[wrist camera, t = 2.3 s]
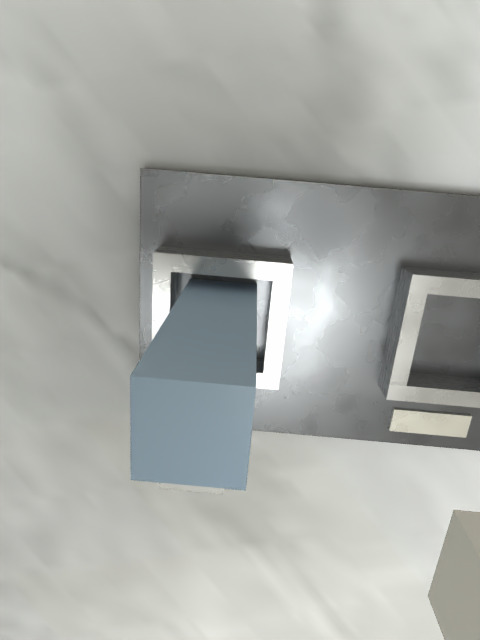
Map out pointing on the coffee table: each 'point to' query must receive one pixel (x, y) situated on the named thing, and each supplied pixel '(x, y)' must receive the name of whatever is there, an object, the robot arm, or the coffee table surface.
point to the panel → (332, 298)
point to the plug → (197, 391)
